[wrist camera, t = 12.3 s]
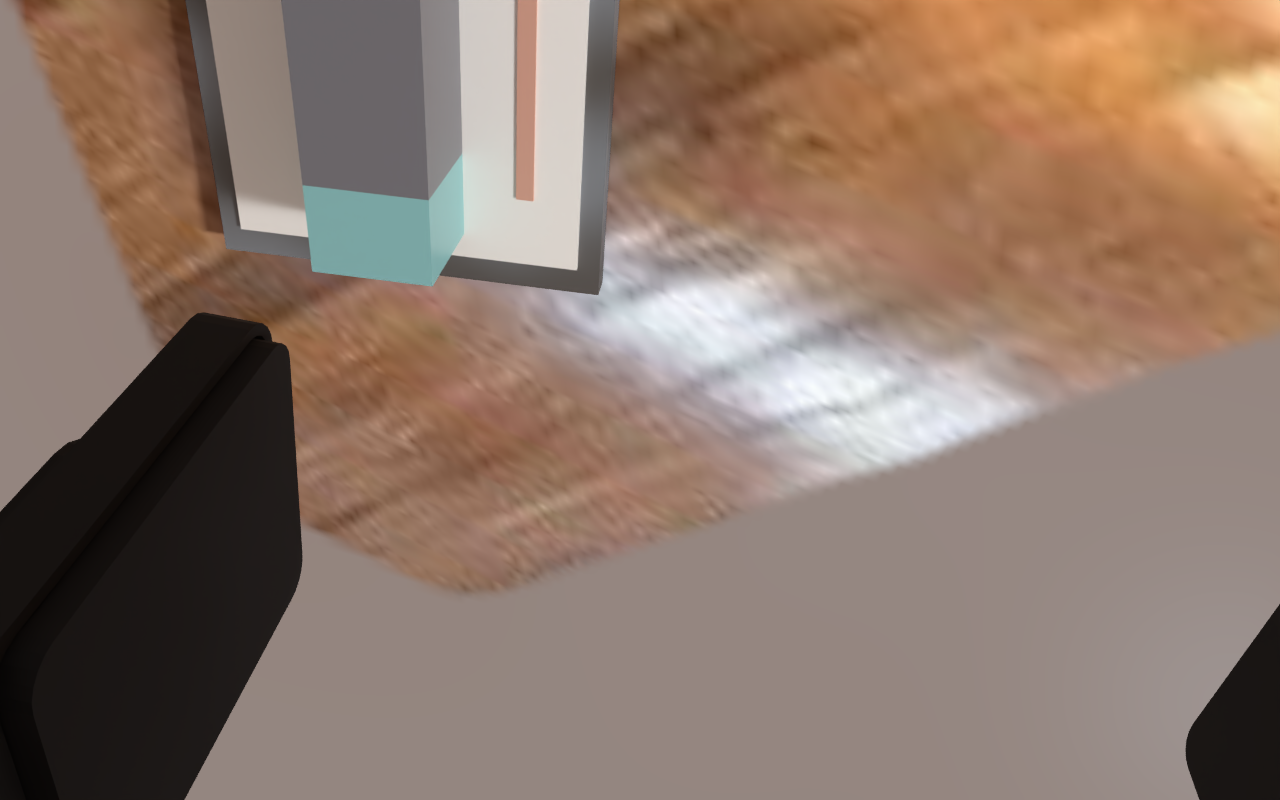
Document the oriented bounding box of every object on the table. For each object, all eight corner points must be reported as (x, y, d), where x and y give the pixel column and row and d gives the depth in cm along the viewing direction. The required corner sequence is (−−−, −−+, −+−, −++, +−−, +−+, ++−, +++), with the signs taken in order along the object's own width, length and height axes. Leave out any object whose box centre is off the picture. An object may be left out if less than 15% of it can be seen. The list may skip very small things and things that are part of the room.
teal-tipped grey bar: (313, -252, 29) (252, -245, 26) (452, -239, 29) (409, -230, 26) (354, 220, 38) (312, 271, 34) (464, 233, 37) (432, 286, 34)
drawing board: (153, -299, 30) (130, -299, 29) (634, -254, 29) (628, -251, 28) (238, 237, 40) (222, 252, 39) (602, 282, 39) (596, 298, 38)
